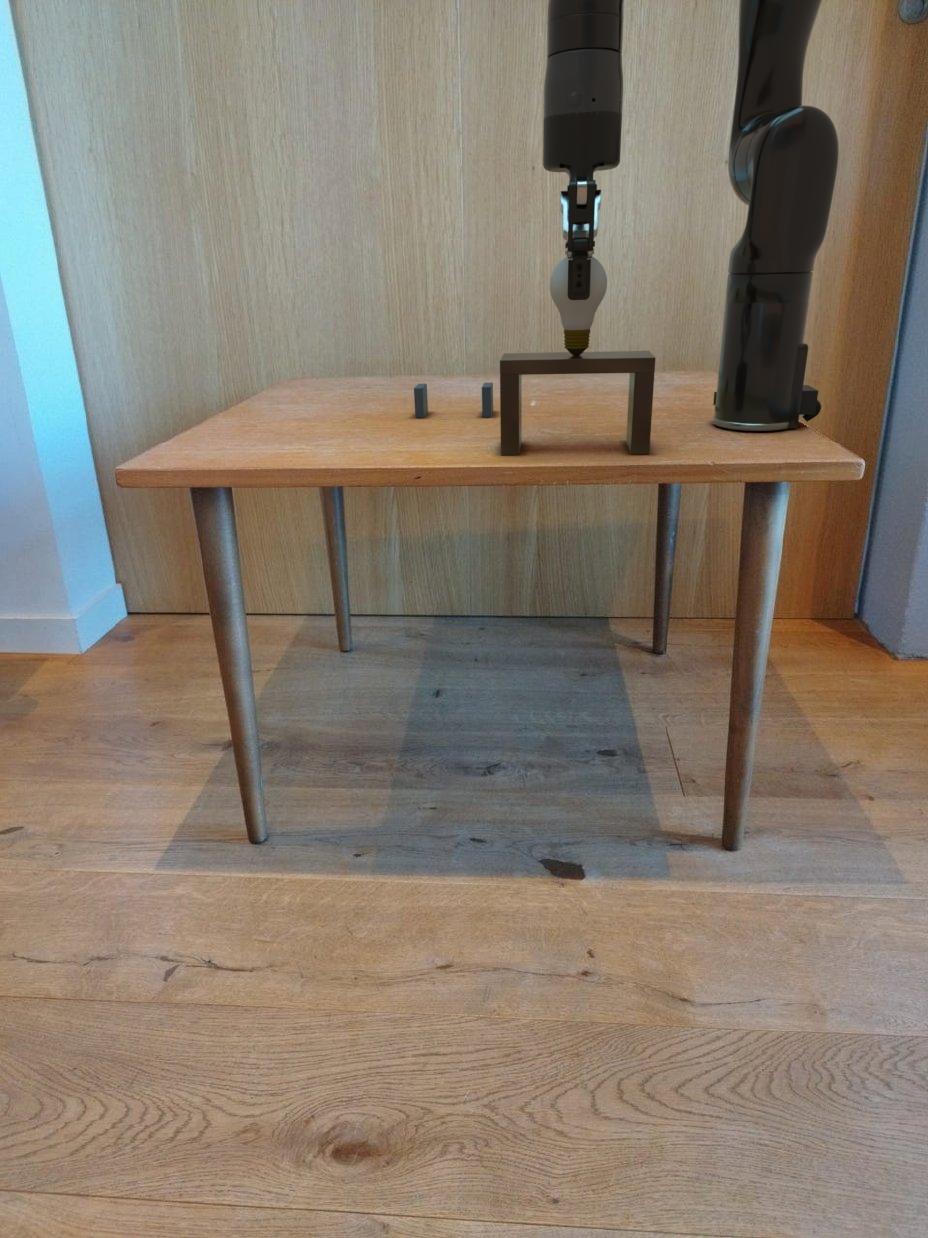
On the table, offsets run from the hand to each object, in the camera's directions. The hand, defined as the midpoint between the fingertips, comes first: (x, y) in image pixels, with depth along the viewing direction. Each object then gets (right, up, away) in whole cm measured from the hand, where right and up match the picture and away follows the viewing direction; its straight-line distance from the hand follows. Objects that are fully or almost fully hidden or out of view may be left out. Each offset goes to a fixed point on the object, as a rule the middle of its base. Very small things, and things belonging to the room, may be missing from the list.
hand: (577, 297), depth 85 cm
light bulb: (0, -5, +3) cm, 6 cm away
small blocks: (-13, -5, +28) cm, 31 cm away
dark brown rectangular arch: (0, -14, +6) cm, 16 cm away
